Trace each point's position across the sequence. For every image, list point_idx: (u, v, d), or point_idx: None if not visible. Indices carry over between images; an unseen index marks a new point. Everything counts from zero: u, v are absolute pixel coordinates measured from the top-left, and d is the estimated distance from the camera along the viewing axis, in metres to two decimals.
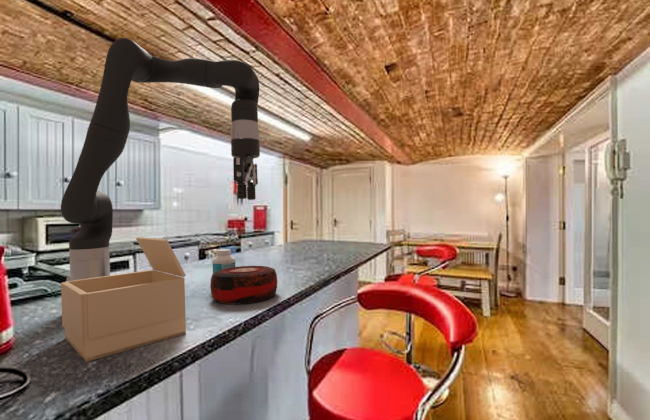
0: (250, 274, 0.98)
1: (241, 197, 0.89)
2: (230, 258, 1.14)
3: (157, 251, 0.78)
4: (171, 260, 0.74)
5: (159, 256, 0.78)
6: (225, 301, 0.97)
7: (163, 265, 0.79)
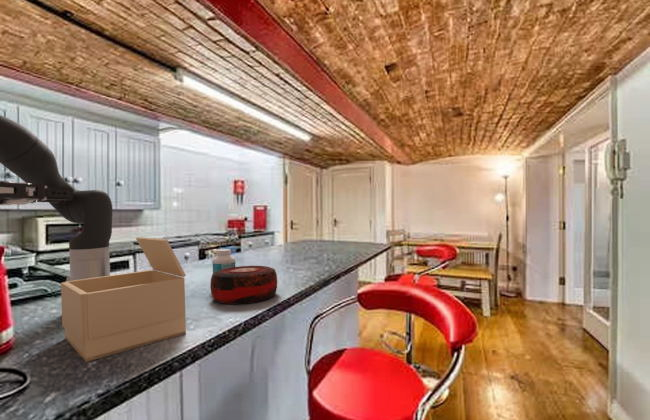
0: (250, 274, 0.98)
1: None
2: (230, 258, 1.14)
3: (157, 251, 0.78)
4: (171, 260, 0.74)
5: (159, 256, 0.78)
6: (225, 301, 0.97)
7: (163, 265, 0.79)
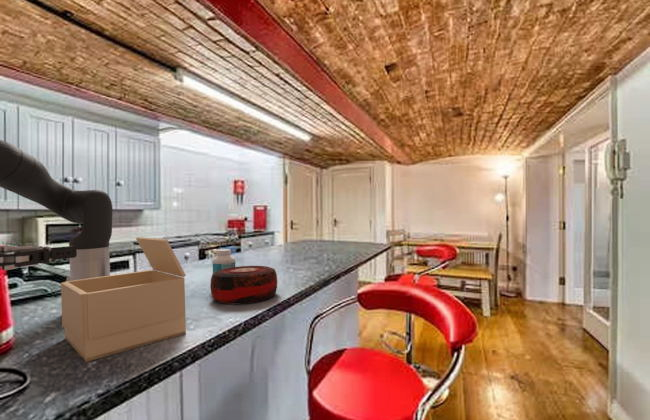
0: (250, 274, 0.98)
1: None
2: (230, 258, 1.14)
3: (157, 251, 0.78)
4: (171, 260, 0.74)
5: (159, 256, 0.78)
6: (225, 301, 0.97)
7: (163, 265, 0.79)
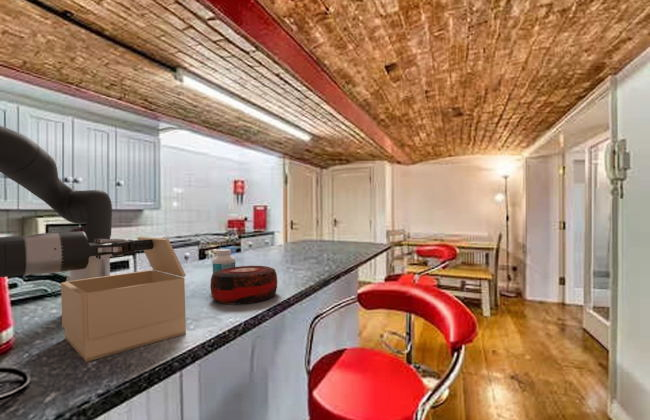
0: (250, 274, 0.98)
1: None
2: (230, 258, 1.14)
3: (158, 251, 0.78)
4: (172, 260, 0.74)
5: (160, 256, 0.78)
6: (225, 301, 0.97)
7: (163, 265, 0.79)
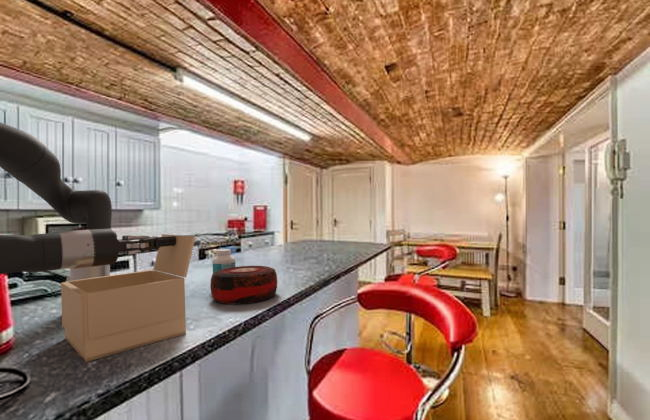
0: (250, 274, 0.98)
1: None
2: (230, 258, 1.14)
3: (175, 248, 0.81)
4: (184, 257, 0.76)
5: (173, 253, 0.81)
6: (225, 301, 0.97)
7: (170, 263, 0.80)
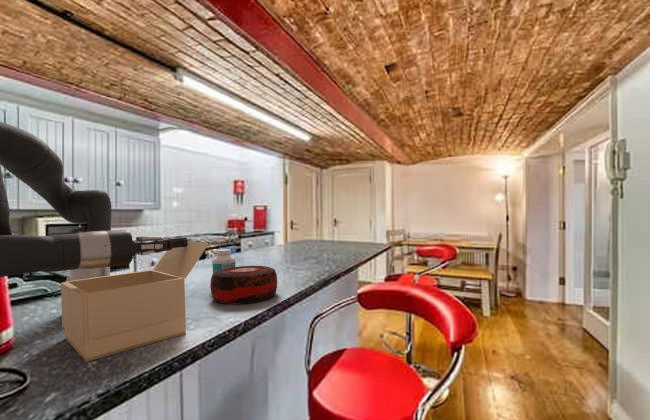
0: (250, 274, 0.98)
1: None
2: (230, 258, 1.14)
3: (184, 251, 0.82)
4: (191, 260, 0.77)
5: (180, 256, 0.82)
6: (225, 301, 0.97)
7: (173, 265, 0.81)
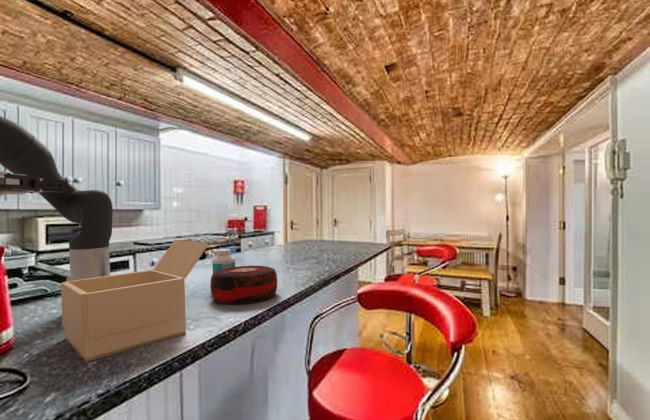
0: (250, 274, 0.98)
1: None
2: (230, 258, 1.14)
3: (184, 251, 0.82)
4: (191, 260, 0.77)
5: (180, 256, 0.82)
6: (225, 301, 0.97)
7: (173, 265, 0.81)
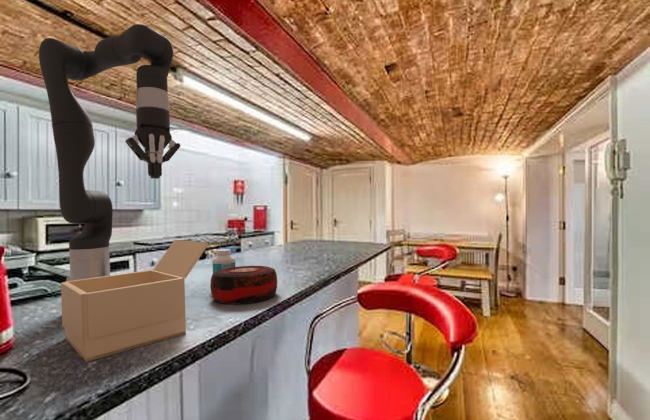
0: (250, 274, 0.98)
1: (152, 177, 0.86)
2: (230, 258, 1.14)
3: (184, 251, 0.82)
4: (191, 260, 0.77)
5: (180, 256, 0.82)
6: (225, 301, 0.97)
7: (173, 265, 0.81)
